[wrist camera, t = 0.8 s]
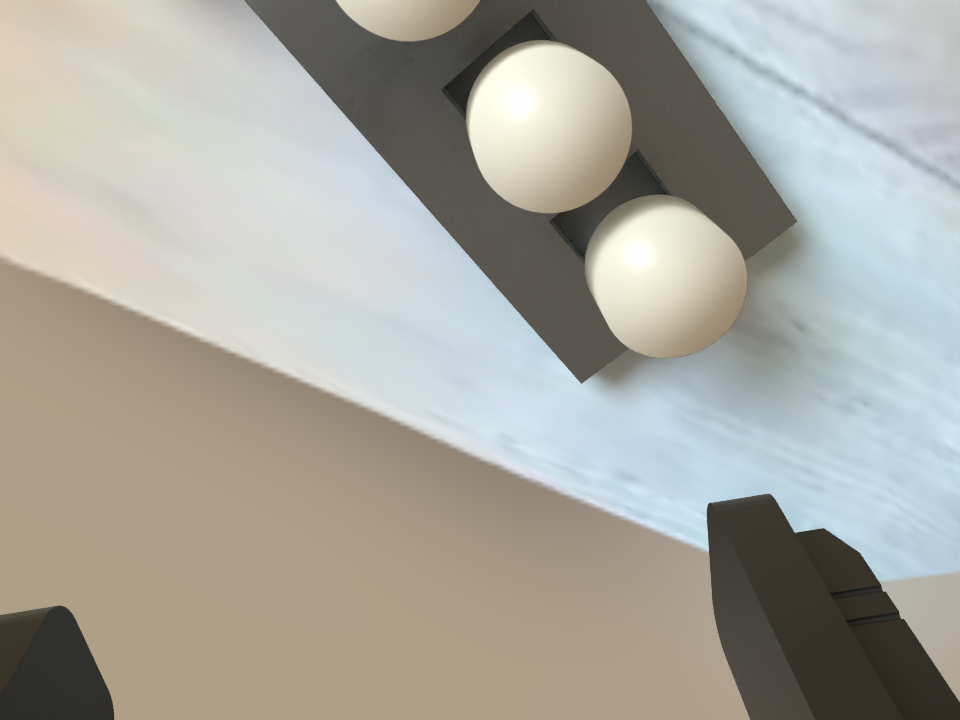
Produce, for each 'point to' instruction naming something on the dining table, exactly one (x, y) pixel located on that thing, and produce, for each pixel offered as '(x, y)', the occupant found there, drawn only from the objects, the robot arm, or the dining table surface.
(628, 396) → the dining table surface
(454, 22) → the knob near
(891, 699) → the robot arm
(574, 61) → the knob mid
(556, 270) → the mount panel
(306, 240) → the dining table surface
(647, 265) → the knob far
